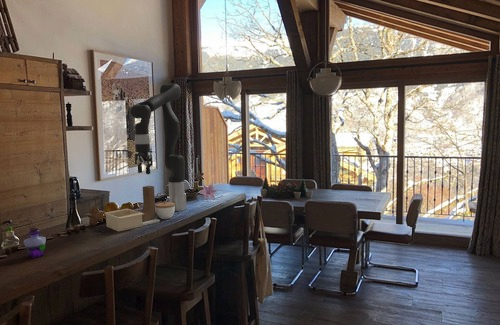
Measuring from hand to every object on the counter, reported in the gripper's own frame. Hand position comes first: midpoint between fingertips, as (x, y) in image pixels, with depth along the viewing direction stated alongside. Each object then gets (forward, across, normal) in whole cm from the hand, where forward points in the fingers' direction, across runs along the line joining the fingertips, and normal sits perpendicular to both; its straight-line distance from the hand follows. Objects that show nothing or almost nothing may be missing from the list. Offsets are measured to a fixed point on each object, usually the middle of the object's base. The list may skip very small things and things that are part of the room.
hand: (144, 173), depth 211 cm
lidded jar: (+27, 0, -12) cm, 29 cm away
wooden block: (+26, 0, 0) cm, 26 cm away
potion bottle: (+26, -15, +59) cm, 66 cm away
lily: (+27, +25, -62) cm, 72 cm away
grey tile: (+26, 0, 0) cm, 26 cm away
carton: (+26, 0, +13) cm, 29 cm away
